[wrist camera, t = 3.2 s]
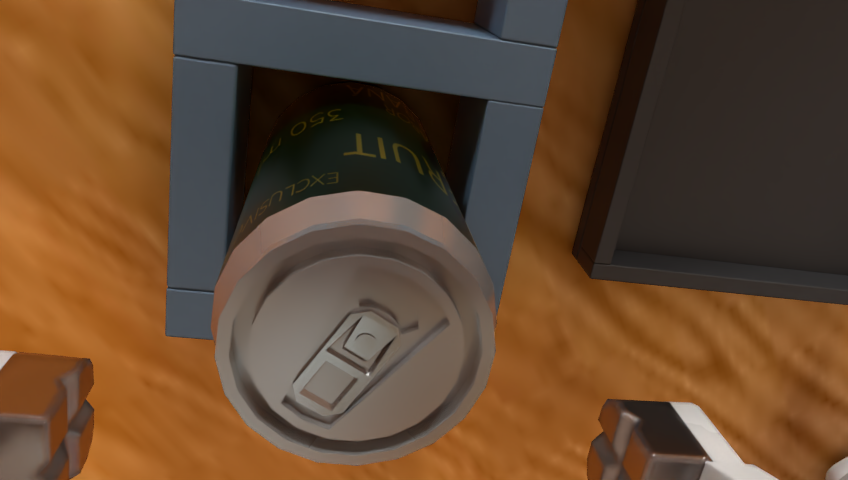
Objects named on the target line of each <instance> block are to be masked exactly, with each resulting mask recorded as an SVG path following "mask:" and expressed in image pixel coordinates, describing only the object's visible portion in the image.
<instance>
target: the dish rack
mask: <svg viewBox="0 0 848 480" xmlns="http://www.w3.org/2000/svg"><path fill="white" fill-rule="evenodd" d="M825 480H848V457H846V458H844V459H843V460H841V461H839V462H838V463H836V464H834V465H833V466H832V467H831V468H830V469H829V470H828V471H827V473H826V477H825Z"/></svg>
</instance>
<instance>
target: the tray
mask: <svg viewBox="0 0 848 480" xmlns="http://www.w3.org/2000/svg"><path fill="white" fill-rule="evenodd" d="M572 254H573V256H574V257H575V258H576V260H577V261H578V263H579V264H580V265H581V267H582V268H583V269H584V271H585V272H586V273H587V275H588V276H589V277H590V278H591V279H600V280H610V281H619V282H629V283H639V284H649V285H658V286H668V287H678V288H688V289H697V290H707V291H717V292H727V293H736V294H746V295H756V296H765V297H775V298H785V299H795V300H804V301H814V302H824V303H834V304H843V305H848V0H638V4H637V8H636V12H635V15H634V19H633V23H632V27H631V31H630V34H629V38H628V42H627V46H626V50H625V54H624V57H623V61H622V65H621V69H620V73H619V76H618V80H617V84H616V88H615V92H614V95H613V99H612V103H611V107H610V111H609V114H608V118H607V122H606V126H605V130H604V133H603V137H602V141H601V145H600V149H599V152H598V156H597V160H596V164H595V168H594V171H593V175H592V179H591V183H590V187H589V190H588V194H587V198H586V202H585V206H584V209H583V213H582V217H581V221H580V225H579V228H578V232H577V236H576V240H575V244H574V247H573V251H572Z"/></svg>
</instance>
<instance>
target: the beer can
mask: <svg viewBox="0 0 848 480" xmlns="http://www.w3.org/2000/svg"><path fill="white" fill-rule="evenodd" d="M496 324H497V320H496V307H495V295H494V284H493V282H492V280H491V278H490V275H489V273H488V271H487V269H486V267H485V264H484V262H483V260H482V258H481V255H480V253H479V251H478V249H477V246H476V244H475V242H474V240H473V238H472V235H471V233H470V231H469V229H468V226H467V224H466V222H465V220H464V218H463V215H462V213H461V211H460V209H459V206H458V204H457V202H456V200H455V197H454V195H453V193H452V191H451V189H450V186H449V184H448V182H447V180H446V177H445V175H444V173H443V171H442V169H441V166H440V164H439V162H438V160H437V157H436V155H435V153H434V151H433V149H432V146H431V144H430V142H429V140H428V138H427V135H426V133H425V131H424V129H423V127H422V125H421V123H420V120H419V119H418V118H417V117H416V115H415V114H414V113H413V112H412V111H411V110H410V109H409V108H408V107H407V106H406V105H405V104H404V103H403V102H402V101H401V100H400V99H398V98H396V97H395V96H393V95H391V94H389V93H387V92H385V91H383V90H382V89H380V88H378V87H374V86H369V85H363V84H358V83H353V82H346V83H339V84H331V85H324V86H321V87H319V88H317V89H315V90H313V91H311V92H309V93H307V94H305V95H302V96H300V97H298V98H297V99H296V100H295V101H294V102H293V103H292V104H291V105H290V106H289V107H288V108H287V109H286V110H285V111H284V112H283V113H282V114H281V115H280V116H279V118H278V120H277V122H276V124H275V126H274V128H273V130H272V132H271V134H270V136H269V138H268V140H267V143H266V146H265V148H264V151H263V154H262V157H261V160H260V162H259V165H258V168H257V171H256V173H255V176H254V179H253V182H252V185H251V187H250V190H249V193H248V196H247V199H246V201H245V204H244V207H243V210H242V213H241V215H240V218H239V221H238V224H237V227H236V229H235V232H234V235H233V238H232V240H231V243H230V246H229V249H228V252H227V254H226V257H225V260H224V263H223V266H222V268H221V271H220V274H219V277H218V280H217V282H216V285H215V289H214V299H213V309H212V318H211V331H212V335H213V339H214V343H215V346H216V348H215V361H216V364H217V368H218V372H219V375H220V379H221V383H222V386H223V390H224V394H225V395H226V397H227V398H228V399H229V401H230V402H231V404H232V405H233V406H234V408H235V409H236V411H237V412H238V413H239V415H240V416H241V418H242V419H243V420H244V422H245V423H246V425H247V426H249V427H250V428H251V429H253V430H254V431H255V432H257V433H258V434H260V435H261V436H262V437H264V438H265V439H266V440H268V441H269V442H270V443H272V444H273V445H275V446H276V447H277V448H279V449H281V450H284V451H287V452H290V453H292V454H295V455H298V456H301V457H304V458H306V459H309V460H312V461H315V462H320V463H332V464H343V465H355V466H359V465H365V464H371V463H377V462H383V461H389V460H395V459H399V458H401V457H403V456H406V455H408V454H410V453H412V452H415V451H417V450H419V449H422V448H424V447H426V446H428V445H431V444H433V443H435V442H436V441H437V440H438V439H440V438H441V437H442V436H443V435H445V434H446V433H447V432H448V431H450V430H451V429H452V428H453V427H454V426H456V425H457V424H458V423H459V422H461V421H462V420H463V419H464V418H465V417H466V415H467V414H468V412H469V411H470V410H471V408H472V407H473V405H474V404H475V402H476V401H477V399H478V398H479V396H480V395H481V393H482V392H483V390H484V389H485V387H486V384H487V381H488V377H489V374H490V370H491V366H492V363H493V359H494V356H495V352H496V349H495V337H494V332H495V328H496Z"/></svg>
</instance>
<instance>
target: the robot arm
mask: <svg viewBox="0 0 848 480" xmlns="http://www.w3.org/2000/svg"><path fill="white" fill-rule="evenodd" d="M93 385H94V375H93V364H92V362H91V360H90V359H87V358H77V357H66V356H56V355H45V354H35V353H24V352H19V353H17V352H15V351H2V350H0V480H70V479H71V478H73V477H74V476H76V475H78V474H79V473H81V470H82V468H83V466H84V464H85V462H86V460H87V457H88V453H89V449H90V446H91V442H92V437H93V429H94V409H93V407H92V406H91V405H90V404H89V403H88V401H87V400H86V398H87V396H88V394H89V392H90V390H91V388H92V387H93ZM598 420H599V422H600V424H601V427H602V429H603V432H602V433H601V434H600V435H599V436H597V437H596V438H595V439H594V440H593V441H592V442H591V446H590V449H589V453H588V457H587V477H588V480H779V479H777V478H776V477H774V476H772V475H771V474H769V473H767V472H765V471H764V470H762V469H760V468H759V467H757V466H755V465H753V464H745V463H744V462H743V461H742V460H741V458H740V457H739V456H738V455H737V453H736V452H735V451H734V450H733V448H732V447H731V446H730V445H729V443H728V442H727V441H726V440H725V438H724V437H723V436H722V435H721V433H720V432H719V431H718V430H717V428H716V427H715V426H714V425H713V423H712V422H711V421H710V420H709V418H708V417H707V416H706V415H705V413H704V412H703V411H702V410H701V408H700V407H699V406H697V405H695V404H693V403H689V402H656V401H637V400H618V399H607V401H606V402H605V404H604V405H603V406H602V409H601V412H600V415H599V419H598Z"/></svg>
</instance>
